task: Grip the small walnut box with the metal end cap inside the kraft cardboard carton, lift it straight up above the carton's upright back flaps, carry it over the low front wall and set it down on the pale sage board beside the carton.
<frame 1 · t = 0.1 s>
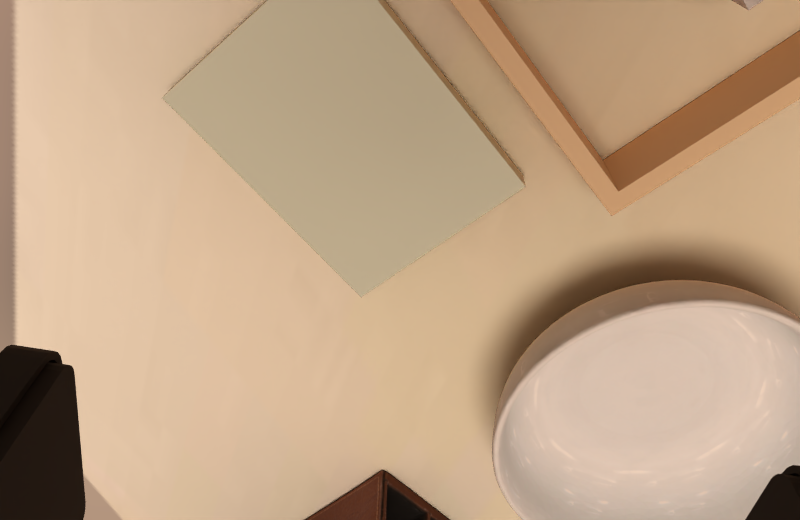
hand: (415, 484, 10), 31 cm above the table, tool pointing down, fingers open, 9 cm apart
serving bowl: (641, 372, 49), on the table
board: (350, 132, 40), on the table
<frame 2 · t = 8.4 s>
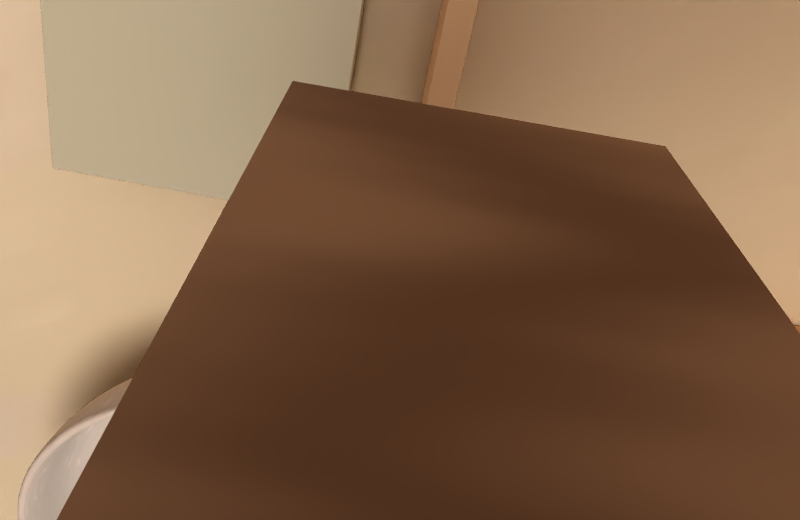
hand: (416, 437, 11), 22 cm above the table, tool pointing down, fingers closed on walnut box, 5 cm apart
serving bowl: (260, 451, 42), on the table
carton: (719, 99, 30), on the table
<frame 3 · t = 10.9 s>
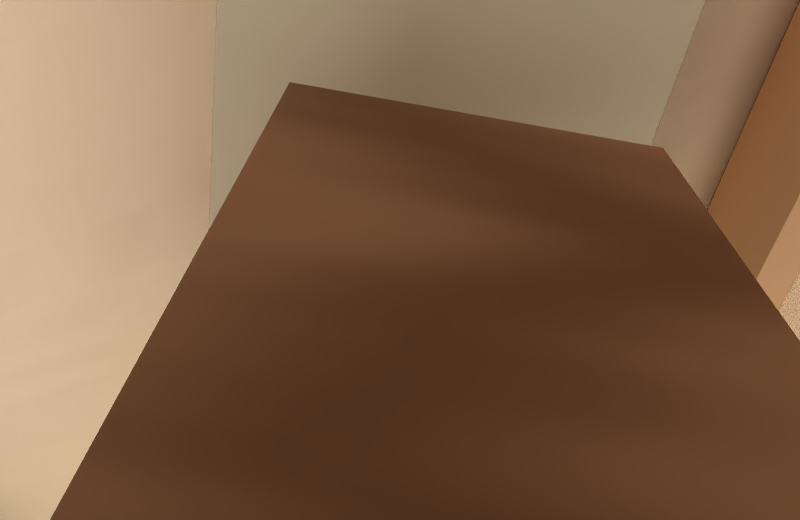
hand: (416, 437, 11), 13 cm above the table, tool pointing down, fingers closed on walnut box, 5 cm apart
board: (429, 122, 21), on the table
when the fingers open (4 cm above the table, at t = 13.2 s): walnut box drops 1 cm, resting on board.
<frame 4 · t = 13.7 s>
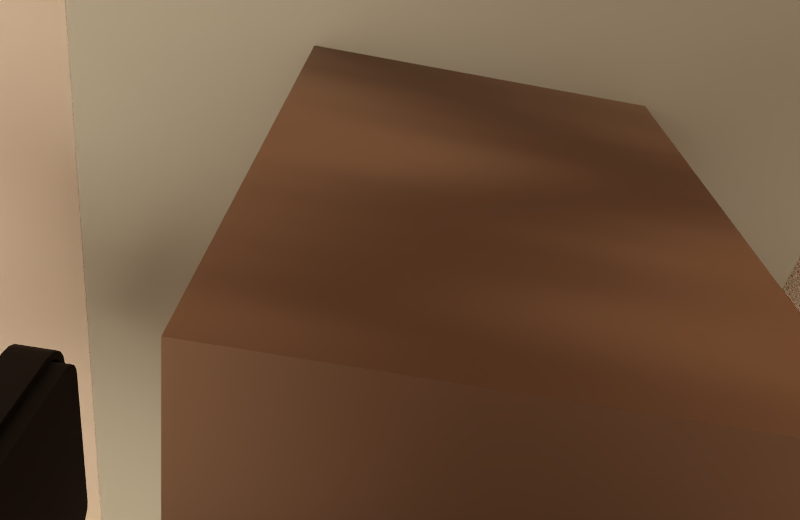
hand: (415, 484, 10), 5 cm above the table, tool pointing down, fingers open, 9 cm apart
board: (420, 275, 14), on the table
walnut box: (422, 466, 10), on the board, point 5 cm above the table
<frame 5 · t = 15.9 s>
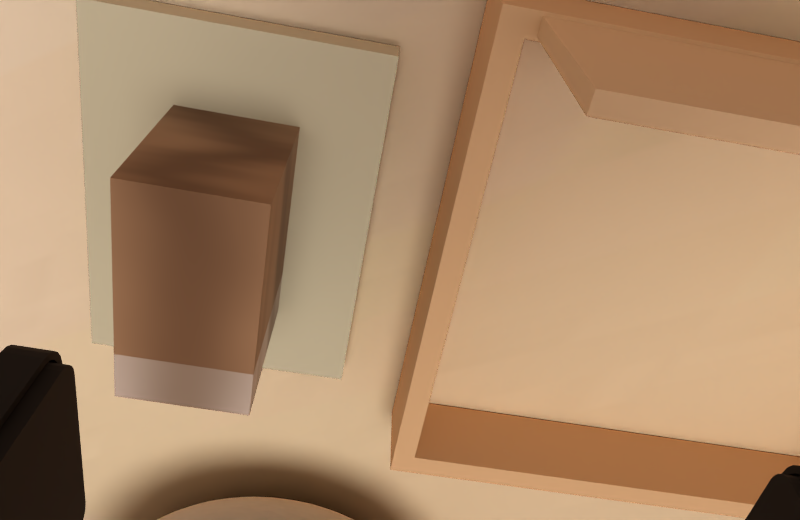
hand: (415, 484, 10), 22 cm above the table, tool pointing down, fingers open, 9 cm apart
board: (235, 200, 32), on the table
walnut box: (210, 257, 28), on the board, point 5 cm above the table
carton: (684, 274, 34), on the table
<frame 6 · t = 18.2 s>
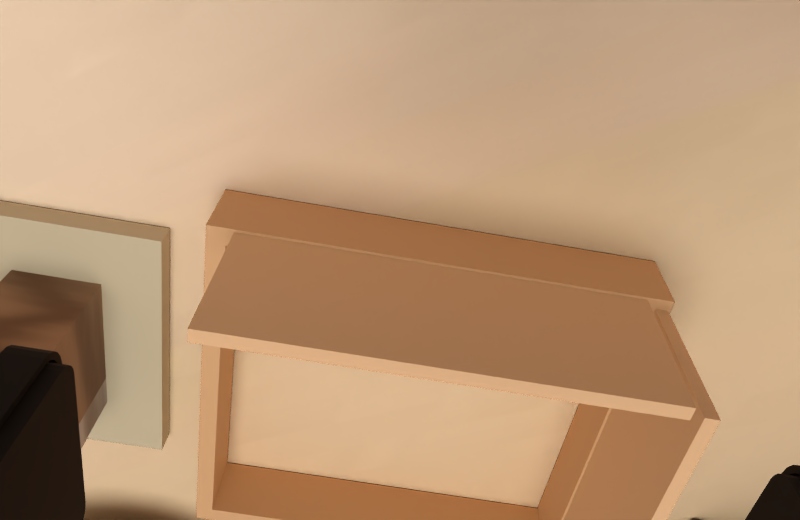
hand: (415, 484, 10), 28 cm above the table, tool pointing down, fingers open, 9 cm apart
board: (71, 325, 44), on the table
walnut box: (34, 378, 40), on the board, point 5 cm above the table
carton: (409, 377, 46), on the table
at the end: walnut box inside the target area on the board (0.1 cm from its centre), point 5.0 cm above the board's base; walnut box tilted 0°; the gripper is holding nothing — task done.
